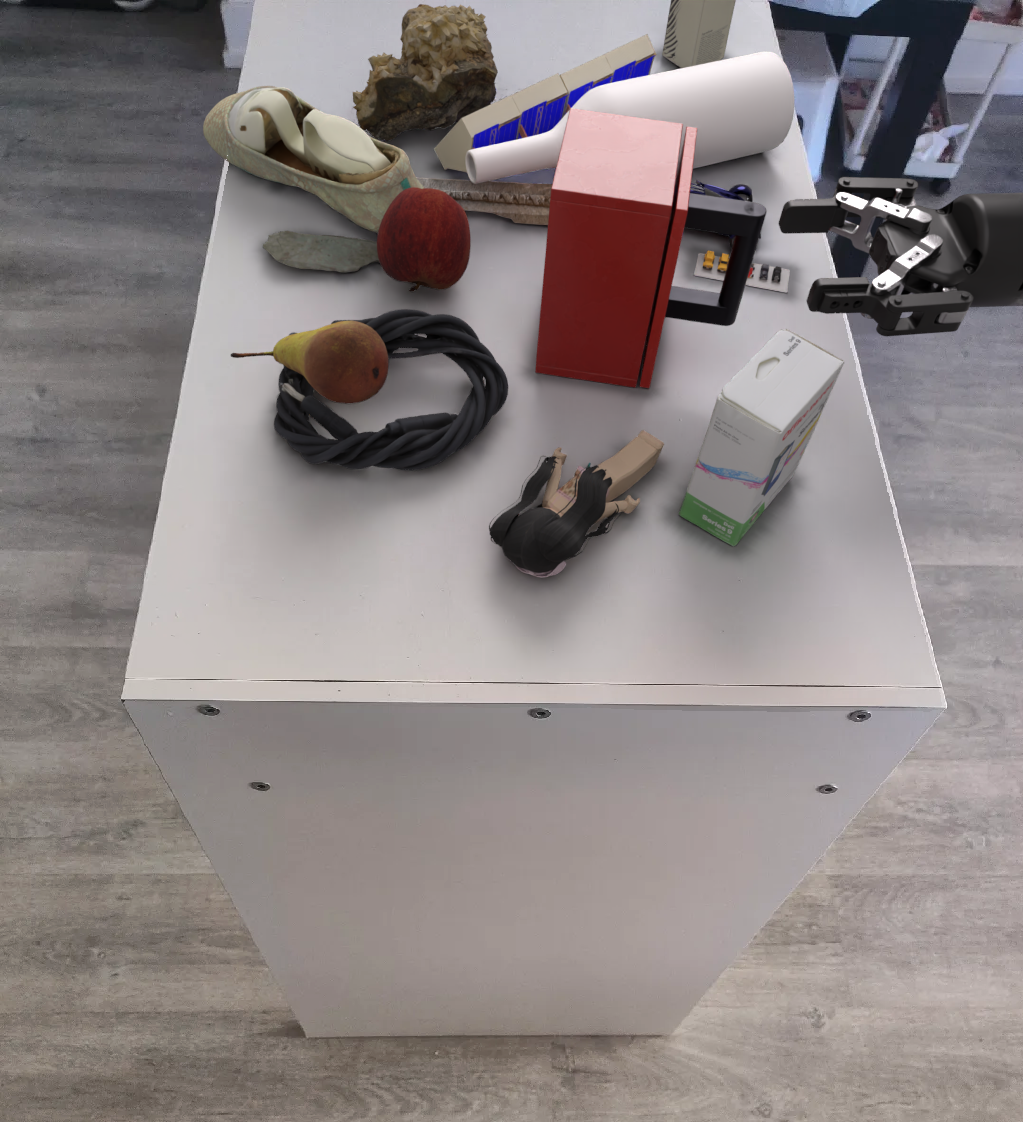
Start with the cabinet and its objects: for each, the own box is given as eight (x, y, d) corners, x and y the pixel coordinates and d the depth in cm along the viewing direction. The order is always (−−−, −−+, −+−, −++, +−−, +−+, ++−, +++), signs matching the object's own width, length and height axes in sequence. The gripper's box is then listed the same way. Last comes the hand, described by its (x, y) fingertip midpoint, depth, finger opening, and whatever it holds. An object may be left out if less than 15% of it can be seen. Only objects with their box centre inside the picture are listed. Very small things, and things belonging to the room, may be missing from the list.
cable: (507, 352, 81) (510, 306, 77) (506, 486, 74) (509, 443, 70) (289, 343, 80) (281, 297, 76) (267, 478, 73) (257, 434, 69)
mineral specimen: (359, 68, 100) (350, -46, 92) (490, 70, 101) (493, -42, 93) (355, 155, 93) (346, 41, 85) (497, 157, 94) (501, 44, 85)
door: (723, 317, 84) (773, 137, 71) (717, 398, 79) (769, 221, 66) (650, 306, 84) (686, 125, 71) (639, 387, 80) (675, 208, 66)
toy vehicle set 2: (787, 292, 86) (789, 284, 86) (694, 274, 87) (695, 267, 86) (790, 269, 88) (792, 262, 87) (698, 252, 89) (700, 244, 88)
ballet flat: (247, 92, 95) (213, 16, 88) (460, 188, 88) (443, 114, 81) (192, 156, 93) (153, 83, 86) (404, 259, 87) (382, 189, 79)
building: (647, 30, 95) (666, 72, 96) (610, 64, 101) (629, 103, 102) (462, 116, 87) (485, 161, 88) (433, 149, 92) (455, 191, 93)
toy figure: (582, 432, 77) (472, 555, 70) (603, 371, 72) (486, 497, 65) (662, 481, 76) (559, 611, 69) (689, 423, 71) (581, 557, 64)
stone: (400, 234, 87) (394, 264, 83) (399, 251, 88) (394, 282, 85) (268, 219, 86) (257, 249, 83) (270, 236, 87) (259, 267, 84)
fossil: (599, 187, 92) (602, 185, 88) (595, 228, 93) (598, 228, 89) (399, 173, 92) (394, 170, 88) (399, 214, 93) (393, 213, 89)
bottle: (807, 99, 89) (496, 169, 82) (770, 169, 97) (482, 238, 89) (767, 28, 91) (458, 90, 83) (733, 102, 99) (447, 164, 91)
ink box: (735, 447, 77) (778, 320, 67) (795, 481, 76) (848, 355, 65) (675, 516, 73) (710, 391, 63) (736, 552, 72) (783, 431, 62)
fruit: (367, 309, 67) (245, 282, 73) (334, 391, 67) (215, 357, 73) (414, 348, 71) (296, 320, 77) (383, 424, 72) (267, 390, 78)
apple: (490, 280, 85) (493, 191, 78) (427, 327, 82) (425, 238, 75) (423, 241, 87) (421, 151, 80) (360, 285, 84) (352, 196, 77)
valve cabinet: (647, 307, 85) (683, 122, 71) (635, 388, 80) (672, 205, 66) (551, 293, 85) (570, 107, 72) (534, 372, 80) (551, 188, 67)
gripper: (1004, 141, 74) (786, 143, 72) (1079, 270, 66) (839, 275, 65) (960, 233, 80) (759, 237, 78) (1024, 360, 73) (804, 367, 71)
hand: (795, 255), depth 72 cm, fingers open, 8 cm apart
